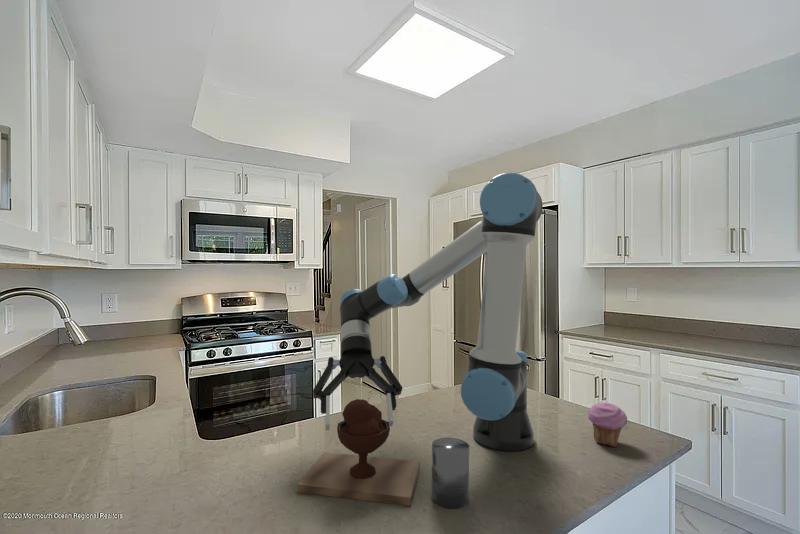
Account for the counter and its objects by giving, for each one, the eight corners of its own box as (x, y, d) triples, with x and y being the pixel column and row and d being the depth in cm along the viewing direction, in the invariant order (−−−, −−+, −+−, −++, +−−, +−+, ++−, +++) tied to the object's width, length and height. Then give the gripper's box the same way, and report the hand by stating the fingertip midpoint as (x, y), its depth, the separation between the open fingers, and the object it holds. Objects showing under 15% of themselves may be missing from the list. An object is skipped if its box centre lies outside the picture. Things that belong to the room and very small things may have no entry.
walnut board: (419, 468, 87) (420, 461, 87) (410, 505, 73) (410, 497, 73) (323, 458, 91) (323, 452, 91) (297, 492, 77) (297, 484, 77)
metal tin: (468, 490, 78) (469, 439, 79) (468, 511, 72) (469, 455, 72) (433, 486, 80) (433, 436, 80) (429, 506, 73) (430, 451, 73)
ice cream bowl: (383, 489, 76) (384, 409, 76) (327, 482, 78) (328, 404, 78) (394, 462, 86) (395, 393, 86) (345, 457, 88) (346, 389, 88)
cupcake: (584, 443, 101) (584, 403, 101) (591, 432, 107) (592, 395, 108) (624, 453, 95) (624, 411, 95) (629, 441, 102) (629, 402, 102)
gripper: (402, 349, 105) (413, 429, 91) (305, 352, 101) (300, 436, 86) (406, 333, 100) (419, 414, 85) (304, 334, 96) (299, 421, 81)
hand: (359, 425), depth 86 cm, fingers open, 13 cm apart
